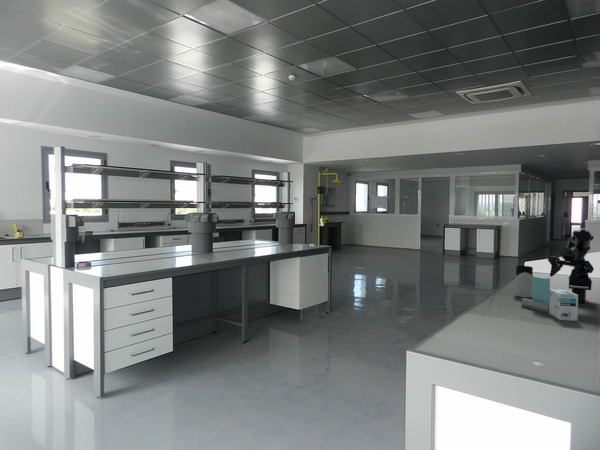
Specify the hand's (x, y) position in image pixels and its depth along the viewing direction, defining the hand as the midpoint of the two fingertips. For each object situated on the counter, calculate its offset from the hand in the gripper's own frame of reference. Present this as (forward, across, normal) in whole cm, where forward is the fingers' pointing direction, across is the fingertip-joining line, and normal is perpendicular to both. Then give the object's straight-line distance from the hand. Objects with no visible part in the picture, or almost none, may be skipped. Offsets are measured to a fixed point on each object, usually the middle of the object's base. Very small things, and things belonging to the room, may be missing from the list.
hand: (559, 277), depth 180 cm
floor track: (+18, 0, +1) cm, 18 cm away
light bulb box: (+21, +14, -1) cm, 25 cm away
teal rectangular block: (+17, 0, +1) cm, 17 cm away
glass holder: (+4, -26, +15) cm, 31 cm away
